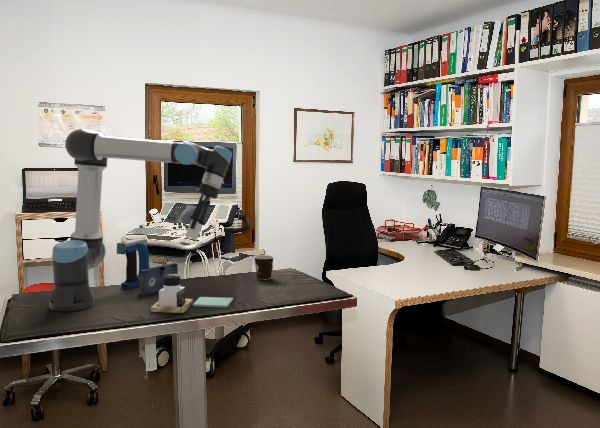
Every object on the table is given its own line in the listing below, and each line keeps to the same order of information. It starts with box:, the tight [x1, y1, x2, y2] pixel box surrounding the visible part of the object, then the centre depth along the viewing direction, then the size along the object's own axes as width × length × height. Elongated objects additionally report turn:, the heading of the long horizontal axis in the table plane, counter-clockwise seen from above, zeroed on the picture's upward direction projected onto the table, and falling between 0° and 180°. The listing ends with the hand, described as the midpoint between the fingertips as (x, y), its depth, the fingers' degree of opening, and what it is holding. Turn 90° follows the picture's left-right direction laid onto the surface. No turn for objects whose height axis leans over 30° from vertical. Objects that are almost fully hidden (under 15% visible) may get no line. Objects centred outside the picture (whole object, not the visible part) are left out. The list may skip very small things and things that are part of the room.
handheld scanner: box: [116, 238, 150, 290], centre depth 213 cm, size 5×16×20 cm, turn 158°
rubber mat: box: [192, 296, 234, 308], centre depth 191 cm, size 13×10×1 cm
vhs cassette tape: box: [138, 262, 179, 296], centre depth 208 cm, size 18×3×10 cm, turn 145°
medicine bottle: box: [158, 274, 186, 307], centre depth 184 cm, size 7×7×12 cm
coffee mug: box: [254, 254, 274, 279], centre depth 228 cm, size 12×9×10 cm
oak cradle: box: [150, 298, 194, 314], centre depth 185 cm, size 12×12×2 cm
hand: (191, 238), depth 190 cm, fingers open, 13 cm apart
